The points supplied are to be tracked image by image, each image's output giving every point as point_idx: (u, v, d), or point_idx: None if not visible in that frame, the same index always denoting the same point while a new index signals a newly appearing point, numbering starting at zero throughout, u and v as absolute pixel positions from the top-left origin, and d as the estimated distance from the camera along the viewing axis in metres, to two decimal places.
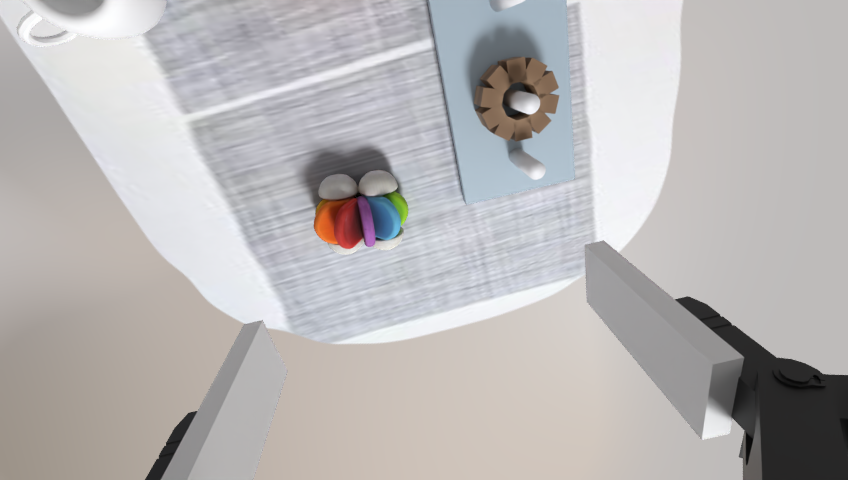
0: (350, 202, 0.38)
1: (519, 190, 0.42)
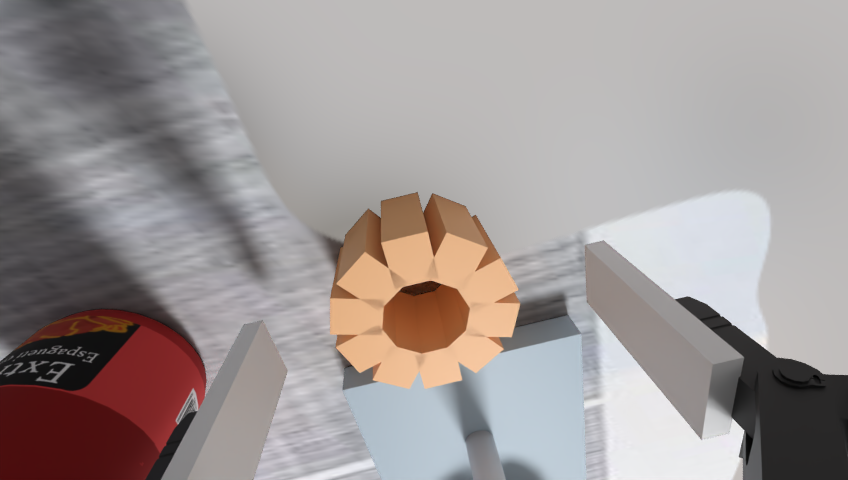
0: None
1: None
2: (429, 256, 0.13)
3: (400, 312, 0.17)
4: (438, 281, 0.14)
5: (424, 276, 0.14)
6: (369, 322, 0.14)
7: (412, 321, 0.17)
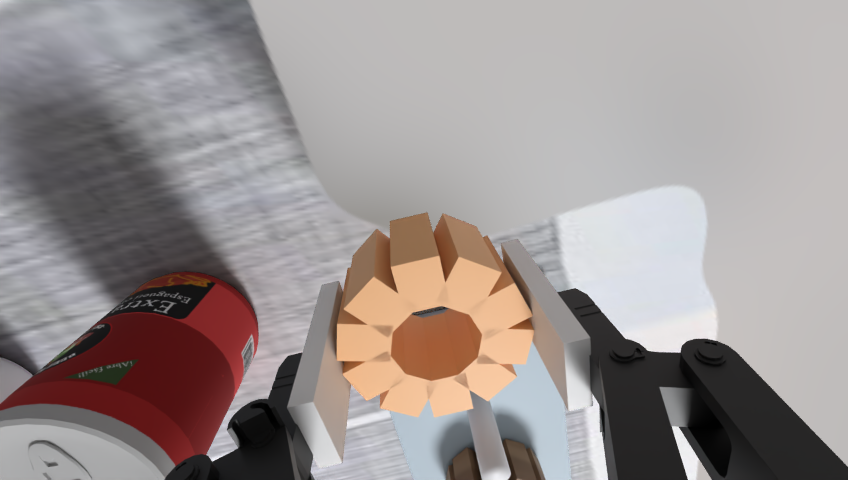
0: None
1: None
2: (440, 281, 0.13)
3: (408, 336, 0.16)
4: (449, 306, 0.13)
5: (435, 301, 0.13)
6: (377, 348, 0.14)
7: (421, 345, 0.16)
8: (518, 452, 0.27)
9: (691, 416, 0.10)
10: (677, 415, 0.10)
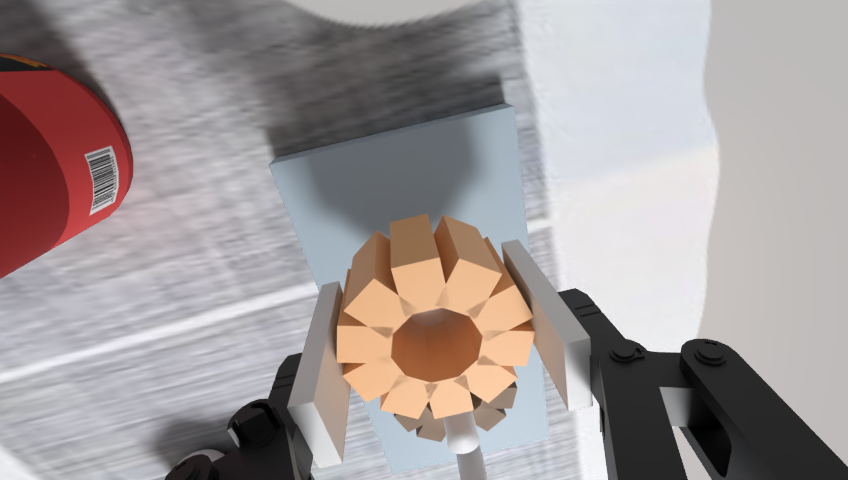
0: None
1: None
2: (441, 282, 0.13)
3: (408, 337, 0.16)
4: (449, 308, 0.13)
5: (435, 303, 0.13)
6: (377, 350, 0.14)
7: (421, 347, 0.16)
8: None
9: (691, 416, 0.10)
10: (677, 415, 0.10)
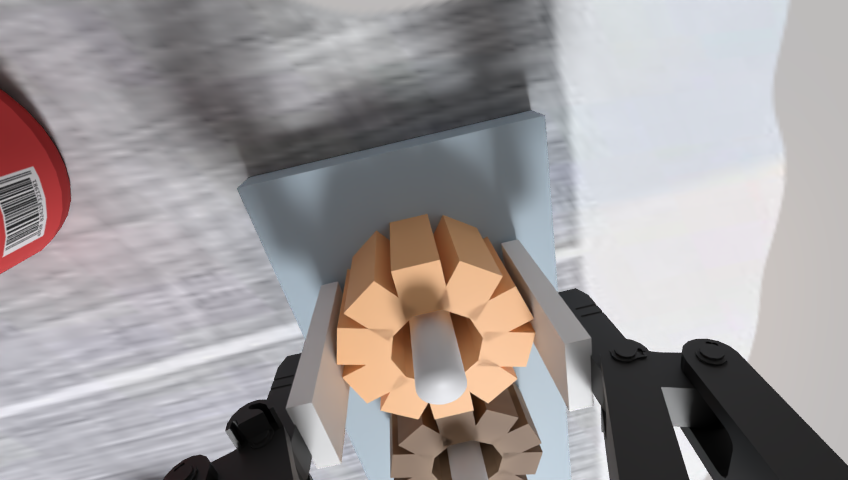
0: None
1: None
2: (441, 285, 0.13)
3: (408, 338, 0.16)
4: (450, 310, 0.13)
5: (435, 305, 0.13)
6: (377, 352, 0.14)
7: None
8: None
9: (691, 416, 0.10)
10: (678, 416, 0.10)
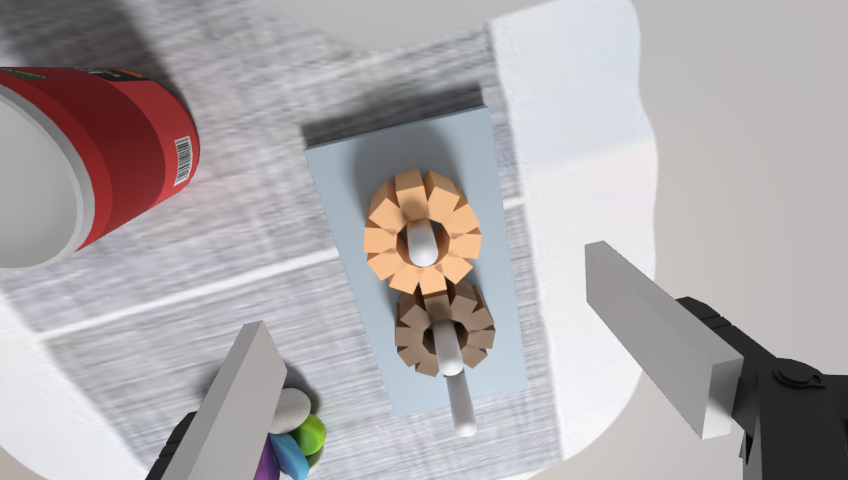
0: None
1: None
2: (424, 201, 0.22)
3: (407, 248, 0.26)
4: (430, 218, 0.23)
5: (421, 214, 0.23)
6: (387, 244, 0.23)
7: None
8: (462, 282, 0.28)
9: None
10: None
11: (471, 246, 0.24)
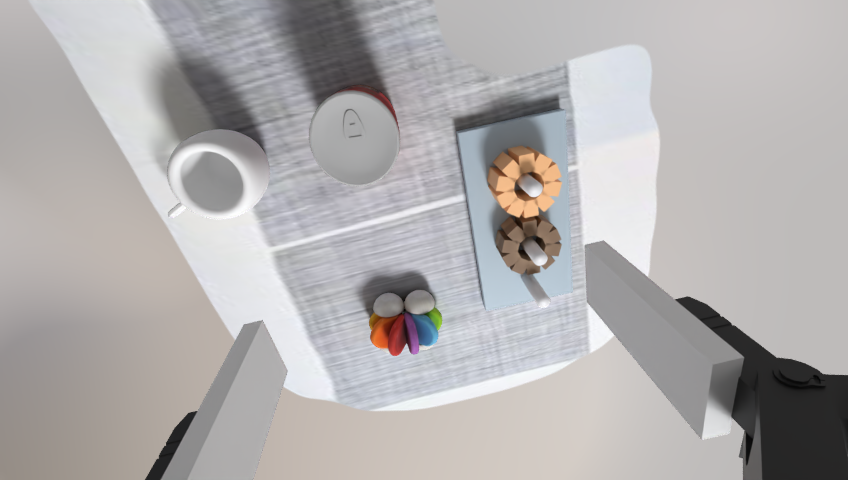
0: (399, 320, 0.48)
1: (528, 300, 0.52)
2: (533, 162, 0.40)
3: None
4: (534, 172, 0.41)
5: (530, 169, 0.41)
6: (509, 186, 0.41)
7: (518, 195, 0.44)
8: (541, 216, 0.46)
9: None
10: None
11: (555, 189, 0.42)
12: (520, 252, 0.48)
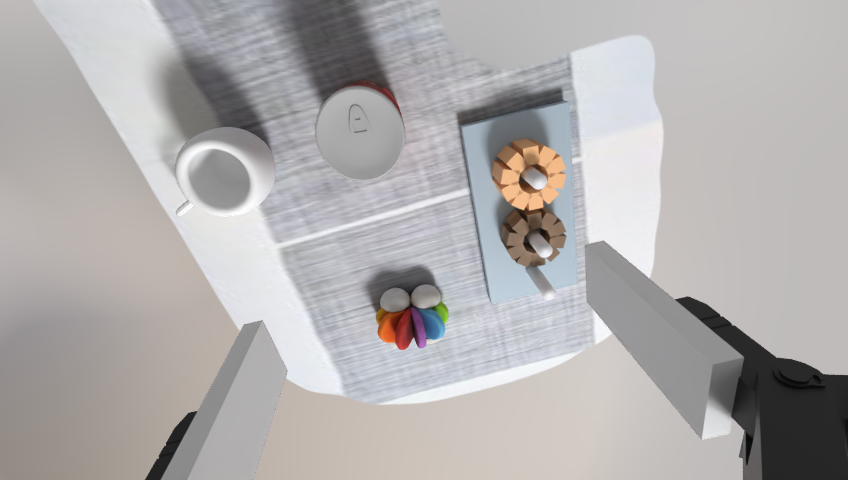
0: (406, 315, 0.49)
1: (533, 293, 0.53)
2: (537, 154, 0.40)
3: None
4: (539, 164, 0.41)
5: (535, 162, 0.41)
6: (514, 179, 0.41)
7: (522, 188, 0.44)
8: (545, 208, 0.46)
9: None
10: None
11: (559, 181, 0.42)
12: (525, 245, 0.48)
